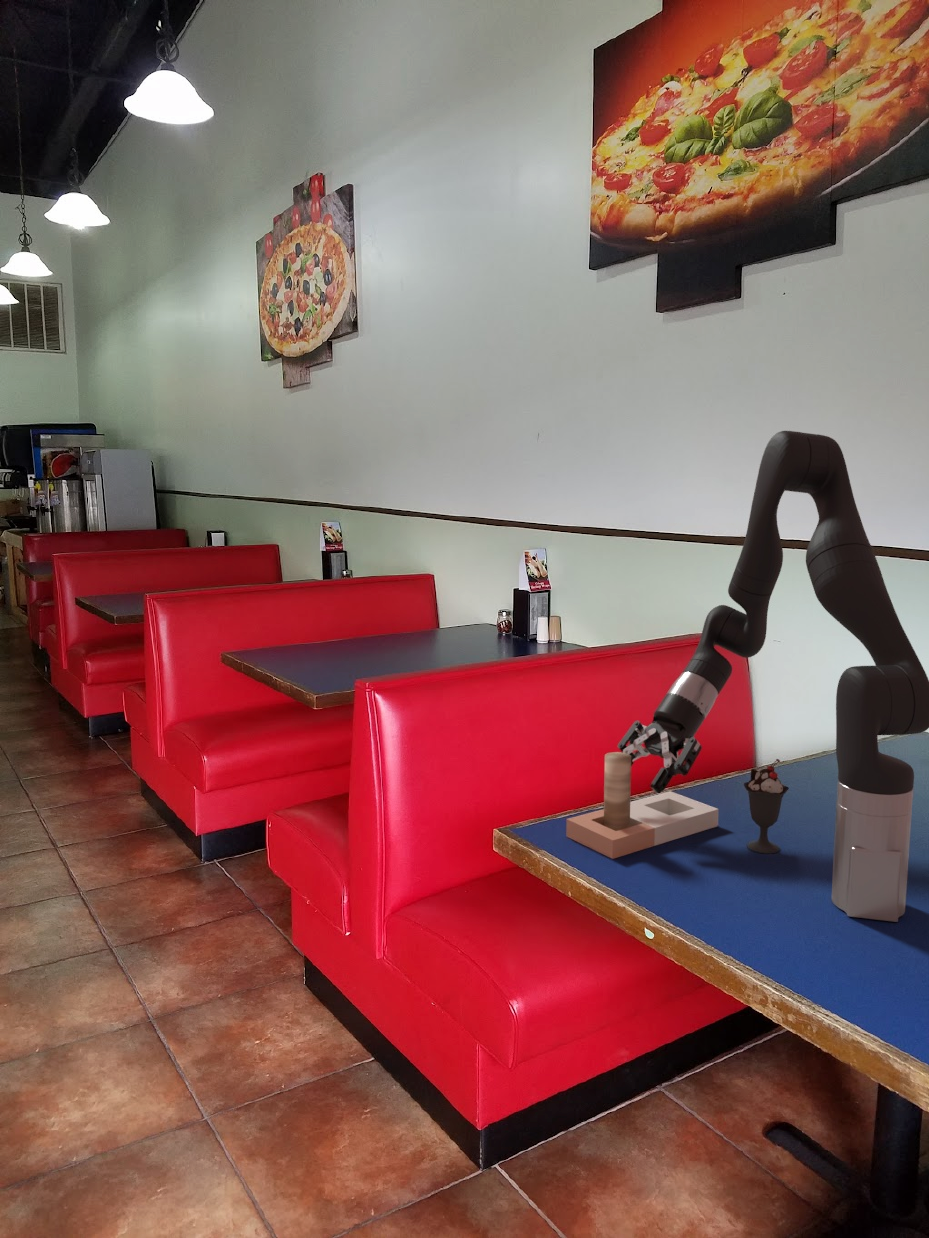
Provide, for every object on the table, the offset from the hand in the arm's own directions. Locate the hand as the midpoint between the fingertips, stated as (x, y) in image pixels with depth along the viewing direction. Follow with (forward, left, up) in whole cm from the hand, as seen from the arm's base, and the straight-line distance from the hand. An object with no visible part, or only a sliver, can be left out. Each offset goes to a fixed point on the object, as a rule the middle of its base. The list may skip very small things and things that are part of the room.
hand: (635, 783), depth 148 cm
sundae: (-1, -20, -9) cm, 22 cm away
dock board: (+1, -1, -9) cm, 9 cm away
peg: (-3, +3, -9) cm, 10 cm away
